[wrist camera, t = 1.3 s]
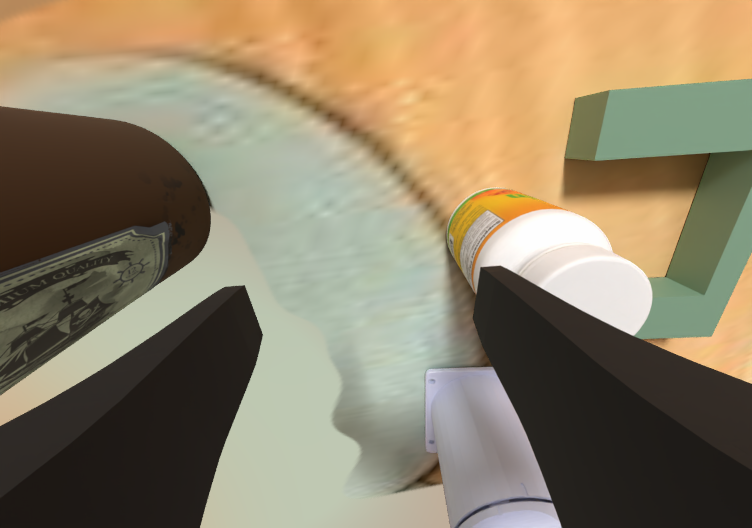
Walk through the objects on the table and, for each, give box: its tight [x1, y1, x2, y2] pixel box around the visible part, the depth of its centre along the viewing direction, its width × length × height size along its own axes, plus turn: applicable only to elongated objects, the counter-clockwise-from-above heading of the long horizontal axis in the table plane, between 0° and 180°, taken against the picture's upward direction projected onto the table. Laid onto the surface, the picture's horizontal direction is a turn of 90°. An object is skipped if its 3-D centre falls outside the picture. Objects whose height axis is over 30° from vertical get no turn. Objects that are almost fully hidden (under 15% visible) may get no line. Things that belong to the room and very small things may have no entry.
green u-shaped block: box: [565, 79, 752, 339], centre depth 16 cm, size 14×10×2 cm
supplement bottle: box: [447, 187, 652, 336], centre depth 14 cm, size 5×5×10 cm
